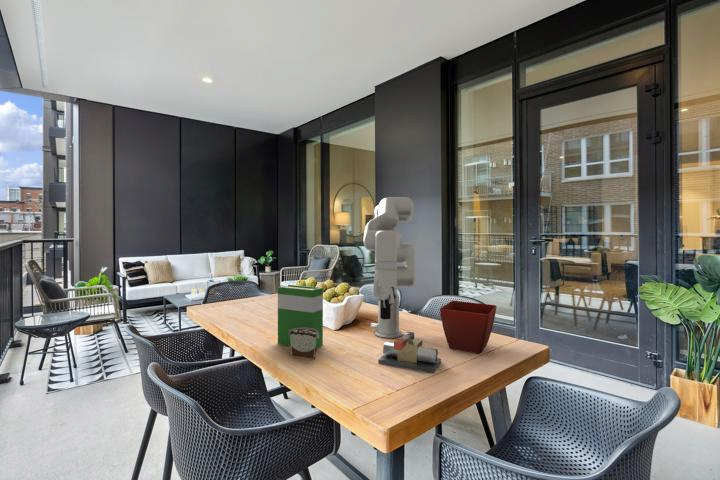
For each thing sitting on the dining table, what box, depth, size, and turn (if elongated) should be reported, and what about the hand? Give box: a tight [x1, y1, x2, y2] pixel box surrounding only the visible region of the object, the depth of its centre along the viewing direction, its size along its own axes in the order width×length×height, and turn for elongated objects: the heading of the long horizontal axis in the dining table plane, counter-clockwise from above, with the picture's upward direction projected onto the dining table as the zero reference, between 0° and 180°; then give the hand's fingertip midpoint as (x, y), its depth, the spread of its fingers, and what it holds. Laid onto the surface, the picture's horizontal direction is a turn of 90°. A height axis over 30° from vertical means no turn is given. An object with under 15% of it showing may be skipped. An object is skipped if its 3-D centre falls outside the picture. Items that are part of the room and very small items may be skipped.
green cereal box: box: [277, 284, 324, 349], centre depth 151 cm, size 18×7×24 cm, turn 63°
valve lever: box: [394, 331, 415, 350], centre depth 124 cm, size 15×3×2 cm, turn 154°
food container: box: [288, 327, 319, 360], centre depth 137 cm, size 12×6×10 cm, turn 71°
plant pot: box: [439, 300, 497, 354], centre depth 148 cm, size 19×19×17 cm
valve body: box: [378, 338, 442, 374], centre depth 130 cm, size 20×11×9 cm, turn 64°
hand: (385, 318), depth 125 cm, fingers closed
